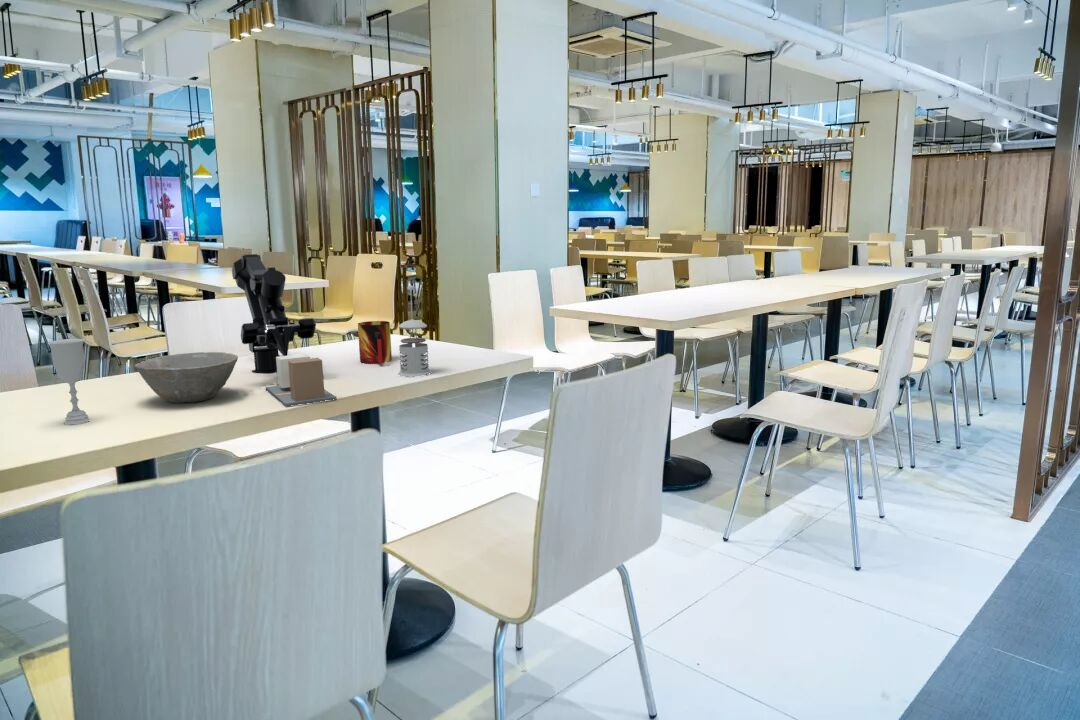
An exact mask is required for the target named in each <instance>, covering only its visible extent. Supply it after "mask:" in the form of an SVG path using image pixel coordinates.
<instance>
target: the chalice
mask: <svg viewBox="0 0 1080 720" xmlns="http://www.w3.org/2000/svg"><path fill="white" fill-rule="evenodd" d="M85 340H86V339H84V338H65V339H57V340H53V341H48V342H47V344H48V346H49V347H50V351H51V359H52V365H53V368H54V369H55V370H56V373H57V374H58V375H59V377H60V379H62V381H63V382H64V383H65V384H68V385H69V387H70V388H69V392H68V393H69V394H70V396H71V398H70V400H69V402H70V403H71V404H72V409H71V411H68V412H67V414H66V417H65V420H64V423H65V424H75V425H81V423H82V424H86V423H88V421H89V420H90V421H91V419H90V418H89V416H88V414H87V412H86V411H85V410H83V409H80V408H79V405H78V404H79V403H78V401H80V399H78V397H77V393H78V391H77V389H76V386H75V385H76V383H78V382H79V381H80V379H81V376H82V374H83V371H84V367H85V362H86V361H85V359H86V358H85V350H84V343H85ZM90 421H89V422H90ZM85 422H86V423H85ZM64 423H63V424H64ZM65 424H64V425H65Z"/></svg>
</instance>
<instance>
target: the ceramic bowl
mask: <svg viewBox="0 0 1080 720" xmlns="http://www.w3.org/2000/svg"><path fill="white" fill-rule="evenodd" d="M238 360H239V357H238V355H236V354H233V353H228V352H220V351H219V352H217V351H213V352H212V351H211V352H187V353H186V352H185V353H176V354H170V355H168V354H167V355H162V356H156V357H153V358H149V359H146V360H141V361H140V362H138V363H136V364H134V368H135V369H136V370H137V372H138V373H139V375H140V376H141V378H142V379H143V380H144V381H145V383H146V385H148V386H149V388H150V389H151V390H152V391H153V392H154V393H155V394H156V395H158V397H160V398H161V399H163V401H166V402H168V403H172V404H180V403H181V404H183V403H184V402H187V403H196V402H203V401H206V400H208V399H211V398H212V397H215V396H216V395H218V394H219V393H220V391H221V390H222V389H223V387H224V386H225V385H226V384H227V381H228V380H229V378H230V376H231V375H232V373H233V370H234V368H235V366H236V364H237V362H238ZM184 404H185V403H184Z"/></svg>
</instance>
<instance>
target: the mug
mask: <svg viewBox="0 0 1080 720" xmlns="http://www.w3.org/2000/svg"><path fill="white" fill-rule="evenodd" d="M357 332H358V333H357V334H358V345H359V348H358V349H359V362H361V363H360V364H363V363H364V364H365V365H380V364H379V363H382V364H386V363H385V362H388V363H391V362H392V361H393V359H392V341H391V339H392V338H391V323H390V321H388V320H387V321H386V320H371V321H362V322H358V323H357ZM391 360H392V361H391ZM390 361H391V362H390Z"/></svg>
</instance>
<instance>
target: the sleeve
mask: <svg viewBox="0 0 1080 720" xmlns="http://www.w3.org/2000/svg"><path fill="white" fill-rule="evenodd" d="M301 359H311V358H310V355H307V354H306V353H301V354H300V353H299V354H298V353H297V354H291V355H289V354H288V355H287V356H283V355H282V356H281V355H280V356H279V357H276V364H277V371H276V373H277V374H276V375H277V386H278V385H280V386H281V387H282V388H286V387H290V377H289V365H288V361H292V360H301Z"/></svg>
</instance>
